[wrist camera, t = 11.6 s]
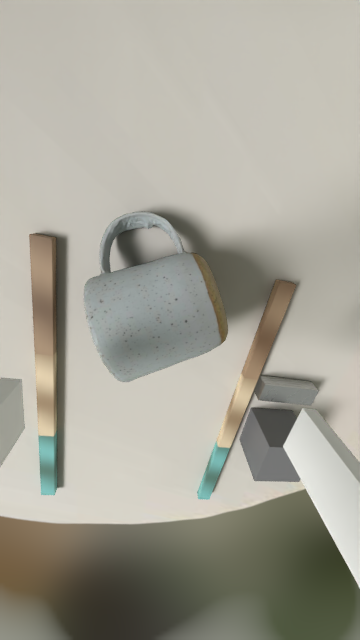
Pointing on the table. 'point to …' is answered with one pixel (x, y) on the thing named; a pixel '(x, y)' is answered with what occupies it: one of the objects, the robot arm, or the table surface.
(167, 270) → the ceramic mug
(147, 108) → the table surface
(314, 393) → the bar
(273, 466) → the block
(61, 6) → the table surface
